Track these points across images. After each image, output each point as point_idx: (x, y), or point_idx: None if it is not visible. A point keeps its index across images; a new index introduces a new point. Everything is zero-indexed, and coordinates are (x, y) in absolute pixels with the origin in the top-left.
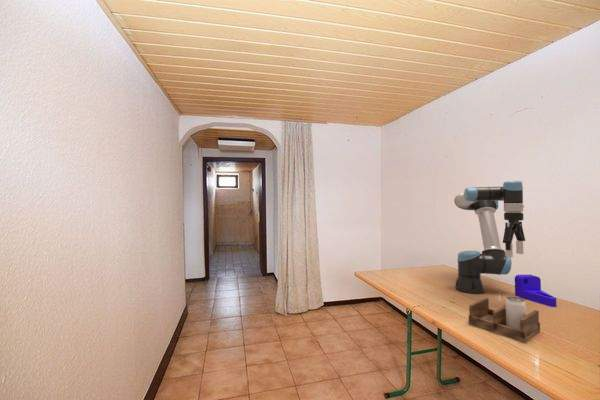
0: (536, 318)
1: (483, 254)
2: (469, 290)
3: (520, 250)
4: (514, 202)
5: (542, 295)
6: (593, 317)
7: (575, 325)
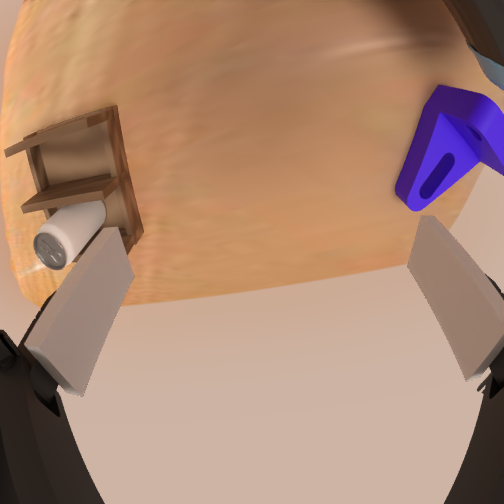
0: None
1: None
2: None
3: (427, 274)
4: None
5: (424, 175)
6: (369, 269)
7: (266, 262)
